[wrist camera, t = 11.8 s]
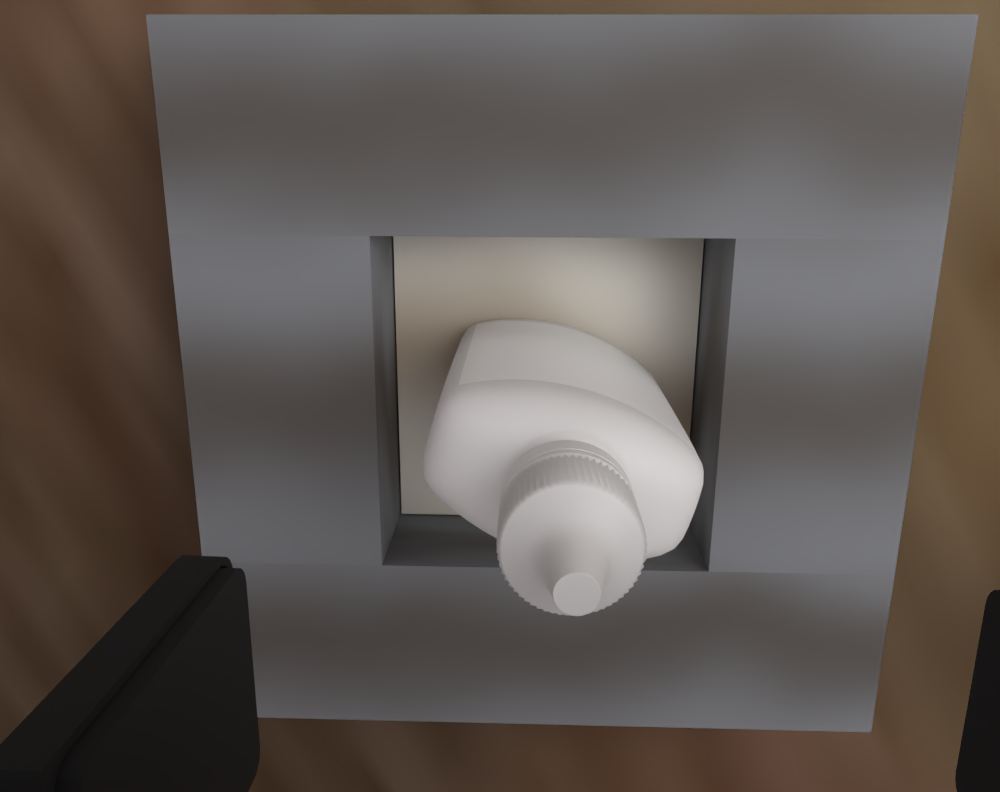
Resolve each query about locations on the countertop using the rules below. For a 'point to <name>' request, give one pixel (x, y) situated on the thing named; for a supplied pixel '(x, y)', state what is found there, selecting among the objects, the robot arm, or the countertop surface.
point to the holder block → (569, 301)
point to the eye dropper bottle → (561, 460)
